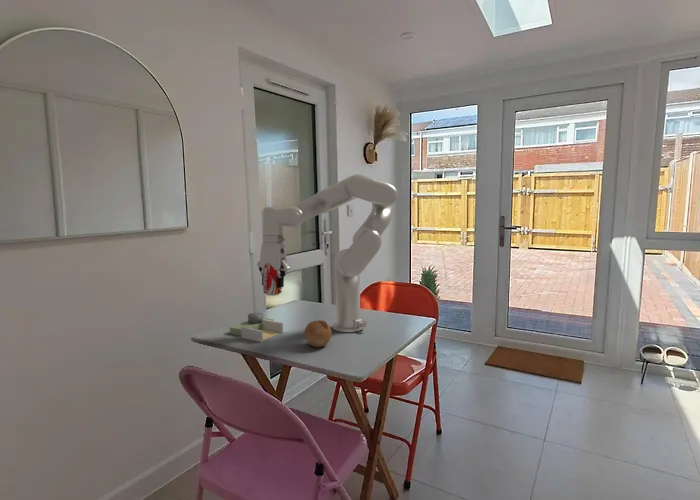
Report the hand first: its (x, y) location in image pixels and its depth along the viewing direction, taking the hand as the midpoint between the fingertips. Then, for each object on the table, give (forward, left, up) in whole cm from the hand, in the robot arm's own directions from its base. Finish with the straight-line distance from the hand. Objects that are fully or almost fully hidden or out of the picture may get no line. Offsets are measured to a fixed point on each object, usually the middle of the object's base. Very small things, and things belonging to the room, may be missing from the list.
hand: (272, 285), depth 149 cm
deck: (+6, +1, -19) cm, 20 cm away
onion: (-23, +3, -19) cm, 30 cm away
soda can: (0, 0, -3) cm, 3 cm away
